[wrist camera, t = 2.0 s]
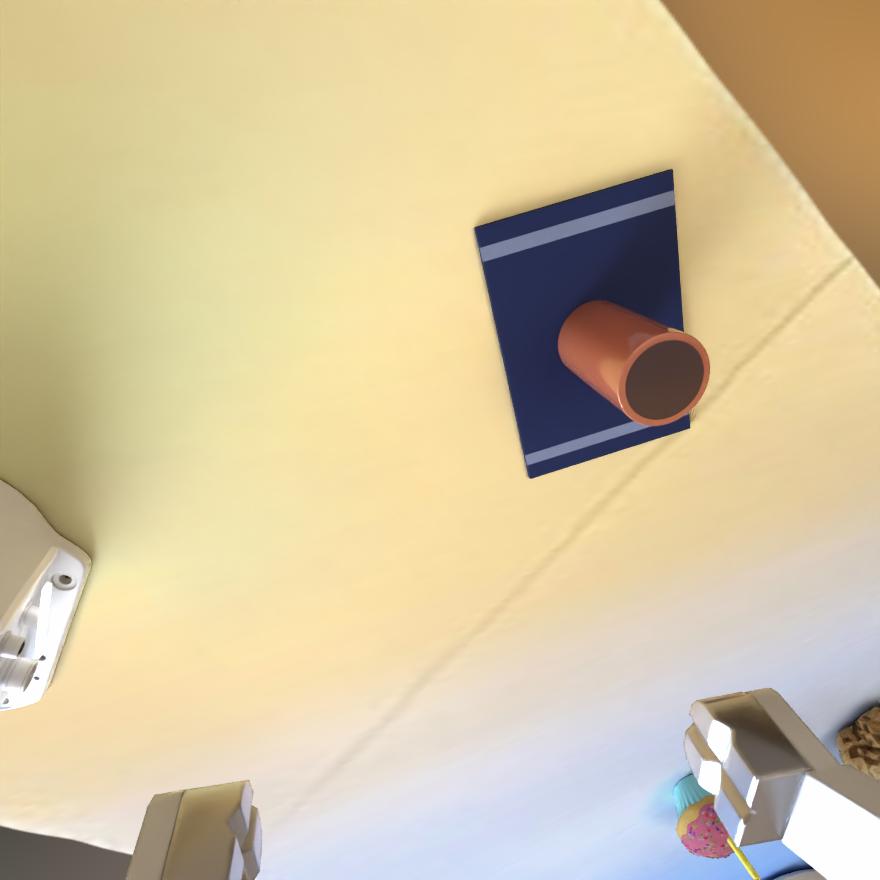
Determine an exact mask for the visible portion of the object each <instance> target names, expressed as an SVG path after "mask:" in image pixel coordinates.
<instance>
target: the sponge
mask: <svg viewBox="0 0 880 880" xmlns="http://www.w3.org/2000/svg"><path fill="white" fill-rule="evenodd" d="M855 722H856V724H857V725H851V726H850V727H845V728H843V729H842V730H840V731H839V732H838V735H837V738H836V747H837V748H839V752H840V754H839V755H840V757H841V759H842V761H843V763H844V765H845V764H850V765H851V766H853V767H855V768H857V769H858V770H860V771H862V772H864V773H865V774H867V775H869V776H871V777H872V778H874V779H876V780H878V781H879V782H880V708H878V707H873V709H872V710H869V711H867V712H866V713H864V714H863V715H861V716H860V717H859V718H858V720H856V721H855Z"/></svg>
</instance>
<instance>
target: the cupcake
mask: <svg viewBox="0 0 880 880" xmlns="http://www.w3.org/2000/svg"><path fill="white" fill-rule="evenodd" d="M673 794H674V798H675V802H676V806H677V812H678V823H677V828H676V832H677V834H678V836H679V838H680V840H681V842H682V843H683V844H684V845H685V847H686V848H687V849H688V850H689V852H691V853H693V854H695V855H697V856H703V857H709V858H717V859H719V858H722V857H724V858H727V856H728V855H729V854H731V853H734V852H735V853H736V854H737V856H738V857H739V859H740V860H741V862H742V863H743V865H744V866H745V868H746V869H747V870H748V872H749V873H750V875H751V876H752V878H753V879H754V880H760V877H759V875H758V874H757V872H756V871H755V869H754V868H753V867H752V865H751V864H750V862H749V861H748V859H747V858H746V857H745V855H744V854H743V852H742V851H741V850H740V847H736V845H735V843H734V842H733V840H732V838H731V837H730V835H729V833H728V832H727V830H726V828H725V827H724V825H723V823H722V822H721V820H720V818H719V817H718V815H717V813H716V812H715V810H714V800H715V796H714V795H713V794H712V793H710V792H709V791H707V790H706V789H704V788H703V787H701V786H700V785H699V783H698V782H697V780H696V778H695V776H694V775H693V774H692V775H689V776H687V777H685V778H683V779H682V780H681V781H679V782H678V783H677V785H676V786H675V788H674V791H673ZM729 856H730V855H729Z"/></svg>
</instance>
